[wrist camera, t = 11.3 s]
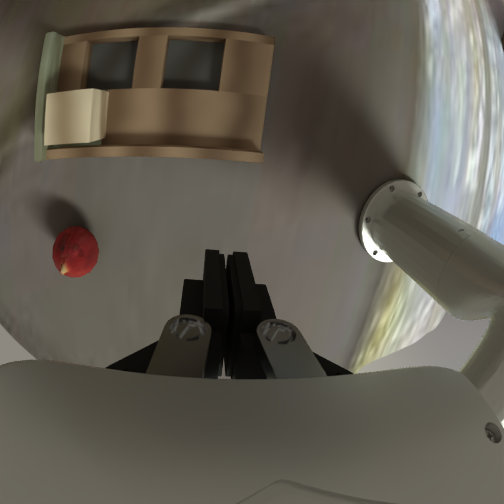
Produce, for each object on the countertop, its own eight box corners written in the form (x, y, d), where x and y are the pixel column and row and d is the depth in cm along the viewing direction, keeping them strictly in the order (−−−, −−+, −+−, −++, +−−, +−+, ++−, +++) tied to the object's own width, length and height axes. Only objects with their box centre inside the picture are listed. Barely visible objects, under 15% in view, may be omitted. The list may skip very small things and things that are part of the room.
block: (109, 91, 24) (93, 88, 20) (105, 137, 26) (89, 142, 22) (67, 95, 23) (46, 93, 19) (65, 139, 25) (44, 145, 21)
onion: (61, 219, 31) (33, 246, 24) (101, 215, 32) (78, 242, 25) (71, 260, 34) (49, 294, 27) (109, 257, 35) (92, 292, 28)
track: (270, 42, 27) (282, 30, 22) (254, 157, 33) (265, 164, 28) (66, 42, 22) (45, 33, 17) (56, 153, 28) (34, 161, 23)
